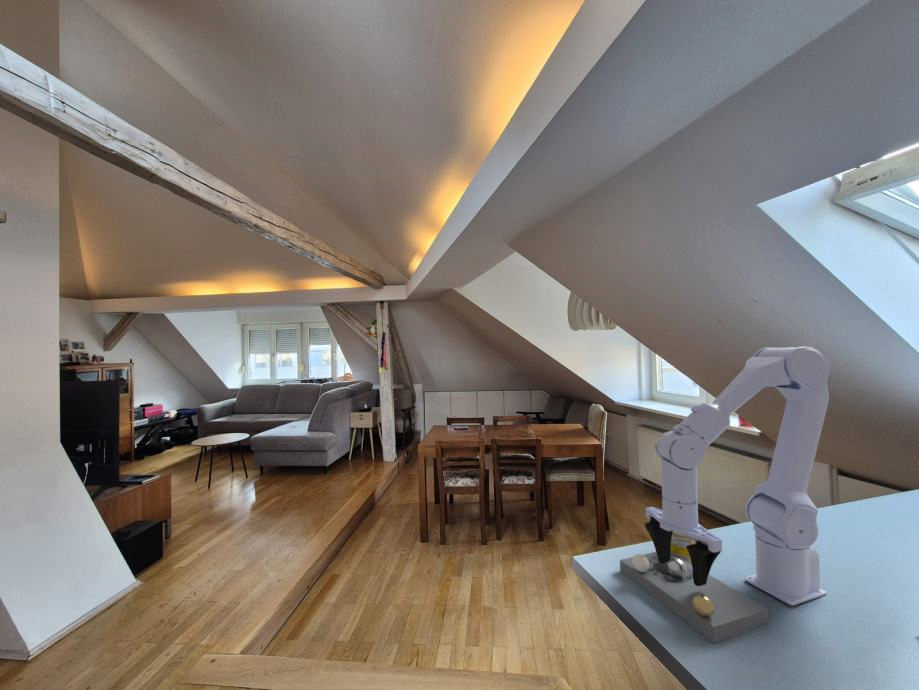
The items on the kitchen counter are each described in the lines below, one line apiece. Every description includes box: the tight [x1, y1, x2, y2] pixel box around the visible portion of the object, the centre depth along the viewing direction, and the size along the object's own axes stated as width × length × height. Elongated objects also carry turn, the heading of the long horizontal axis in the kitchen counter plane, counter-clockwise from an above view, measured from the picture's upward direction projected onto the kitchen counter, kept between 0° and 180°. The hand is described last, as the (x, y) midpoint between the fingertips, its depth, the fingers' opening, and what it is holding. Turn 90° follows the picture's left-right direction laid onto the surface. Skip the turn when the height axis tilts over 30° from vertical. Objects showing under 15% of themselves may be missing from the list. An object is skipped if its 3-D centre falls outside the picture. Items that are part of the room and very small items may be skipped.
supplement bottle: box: [671, 531, 696, 564], centre depth 81 cm, size 5×5×10 cm
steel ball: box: [667, 558, 687, 577], centre depth 71 cm, size 3×3×3 cm
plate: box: [619, 551, 770, 644], centre depth 69 cm, size 12×20×2 cm, turn 19°
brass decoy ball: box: [692, 594, 715, 617], centre depth 61 cm, size 3×3×3 cm
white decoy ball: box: [632, 553, 650, 572], centre depth 73 cm, size 3×3×3 cm
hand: (681, 572), depth 70 cm, fingers open, 7 cm apart
